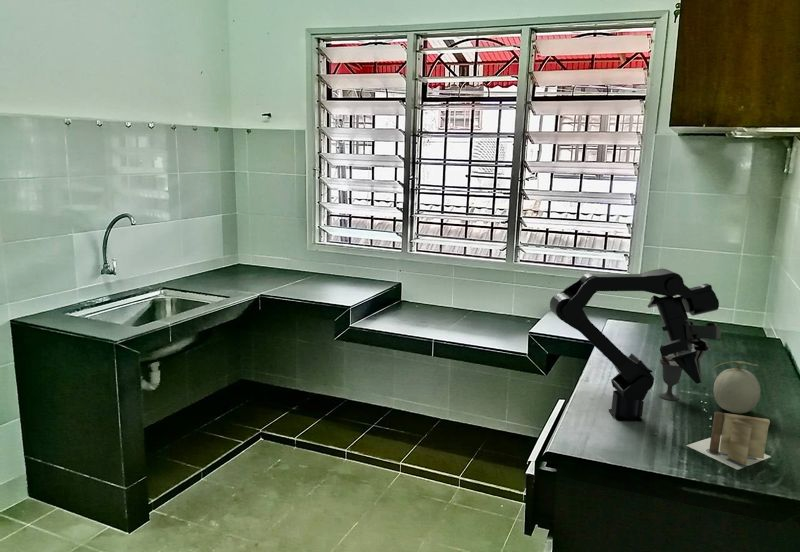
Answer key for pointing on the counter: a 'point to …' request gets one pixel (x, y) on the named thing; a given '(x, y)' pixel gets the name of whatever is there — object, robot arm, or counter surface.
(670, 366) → the sundae
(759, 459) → the card
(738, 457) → the wooden plank
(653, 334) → the counter surface
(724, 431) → the fence panel
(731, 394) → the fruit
